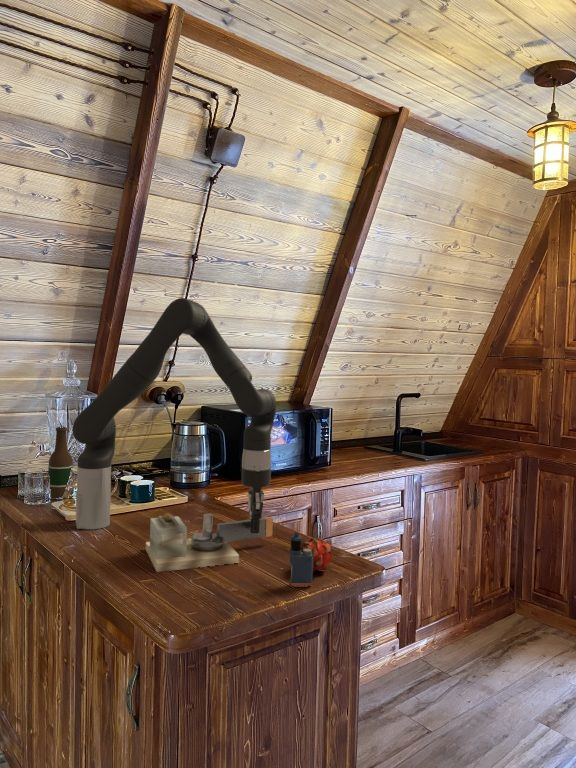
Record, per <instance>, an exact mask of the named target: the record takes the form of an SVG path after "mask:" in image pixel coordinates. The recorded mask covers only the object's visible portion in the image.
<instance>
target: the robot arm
mask: <svg viewBox="0 0 576 768" xmlns="http://www.w3.org/2000/svg"><path fill="white" fill-rule="evenodd" d="M182 335H186V336H189V337H191V338H192V339H193V340H195V341H196V342H197V343H198V344H199V345H200V346H201V347H202V349H203V350H204V352H205V353H206V355H207V357H208V359H209V363H210V365H211V366H212V368H213V370H214V372H215V373H216V374H217V375H218V377H219V378H220V379H221V381H222V382H223V383H224V384H225V386H226V387H227V388H228V389H229V391H230V393H231V396H232V397H233V399H234V402H235V403H236V405H237V407H238V409H239V410H240V411H241V412H242V413H243V414H244V415H246V416H247V417H250V422H249V424H248V426H246V427H245V428H244V431H243V447H242V448H243V450H242V457H241V484H242V485H243V486H244V487H250V488H249V490H247V497H248V498H247V499H248V500H247V501H248V502H247V504H248V505H247V507H248V512H249V519H251V521H250V531H251V533H259V522H260V519H261V518H263V517H262V516H263V515H262V513H263V508H264V500H265V493H264V491H263V490H262V488H263V487H268V486H270V485H271V479H272V476H271V475H272V454H271V448H272V447H271V443H272V442H271V441H272V440H271V439H272V438H271V437H272V429H273V426H274V422H275V417H276V413H277V399H276V397H275V395H274V393H273V392H272V391H271V390H269V389H266V388H256V387H255V386H254V384H253V383H252V381H253V376H252V373H251V371H250V370H249V369H248V368H247V366H245V364H244V363H243V362H242V361H241V359H240V358H239V357H238V356H237V354H236V353H235V352H234V351H233V350H232V349H231V347H230V345H228V343H227V342H226V340H225V339H224V338H223V337H222V335H221V333H220V332H219V330H218V329H217V327H216V326H215V323H214V322H213V320H212V319H211V317H210V315H209V313H208V311H207V310H206V309H205V307H204V306H203V305H201V304H200V303H198V302H195V301H193V300H191V299H188V298H183V297H180V298H179V297H178V298H176V299H174V300H173V301H171V302H170V303H169V305H168V306H167V307H166V308H165V309H164V311H163V312H162V314H161V316H159V318H158V320H157V321H156V323H155V325H154V326H153V327H152V329H151V330H150V332H149V333H148V334H147V336H146V337H145V338H144V339H143V341H141V343H140V344H139V345H138V347H137V348H136V349H135V351H134V352H133V353H132V354H131V355H130V356H129V357H128V358H127V360H126V361H125V362H124V363H123V364H122V366H121V367H120V368H119V369H118V371H117V372H116V373H115V374H114V376H112V378H111V379H110V380H109V382H108V383H107V384H106V385H105V386H104V388H103V390H102V391H101V392H100V393H99V394H98V396H96V397H95V398H94V400H92V401H91V403H90V404H88V405H87V406H86V407H85V408H84V409H83V410H82V411H81V412H80V413H79V414H78V415H77V416H76V418H75V419H74V421H73V424H72V430H71V431H72V435H73V437H74V439H75V440H76V441H77V442H78V443H81V444H82V445H83V444H84V445H85V447H84V449H83V451H82V452H81V453H80V455H78V457H77V471H76V476H77V477H76V492H75V493H76V494H75V496H76V497H75V500H76V501H75V526H76V527H75V528H76V529H77V530H81V529H82V530H99V529H103V528H107V527H109V526H110V520H111V493H112V491H111V489H112V488H111V487H112V483H111V482H112V480H111V479H112V460H113V458H114V455H115V449H116V448H115V447H116V436H117V435H116V434H117V432H116V431H117V429H116V428H117V427H116V426H117V425H116V421H115V418H114V417H115V416H117V414H118V413H119V412H121V410H123V409H124V408H126V407H127V406H128V405H129V404H131V403H133V402H134V401H135V400H136V399H138V398H139V397H140V396H142V395H143V394H144V393H145V391H147V389H149V387H150V386H151V385H152V384H153V383H154V381H156V379H157V378H158V376H159V375H160V374H161V373H160V372H161V371H162V368H163V365H164V360H165V358H166V355H167V353H168V351H169V349H170V347H171V346H172V345H173V344H175V342H176V341H177V340H178V338H180V337H181V336H182Z"/></svg>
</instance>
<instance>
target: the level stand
mask: <svg viewBox="0 0 576 768" xmlns="http://www.w3.org/2000/svg"><path fill="white" fill-rule="evenodd" d="M149 522H150V523H149V524H150V525H149V526H150V528H149V530H150V531H149V541H146V542H145V551H146V554H147V555H148V557H149V560H150V562H151V563H152V565H153V567H154V570H155V571H156V573H160V572H170V571H181V570H189V569H198V567H200V568H208V567H207V566H210V567H216V566H215V565H219V566H225V565H224V564H229V565H235V564H234V563H238V564H240V554H239V553H238V552H237V551H236V550H235V549H234V548H233V547H232V545H230V544H229V542H225V543H223V547H222V548H221V549H219V550H215V551H198V550H195V549H193V548H192V547H191V538H192V537H190V538H189V537H188V535H187V534H188V528H187V526H186V525H185V523H184V522H183V521H182V519H181V518H180V517H179V516H173V514H171V513H169V512H165V513H164V514H163V515H158V517H151V518H150V521H149ZM187 537H188V538H187Z"/></svg>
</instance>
